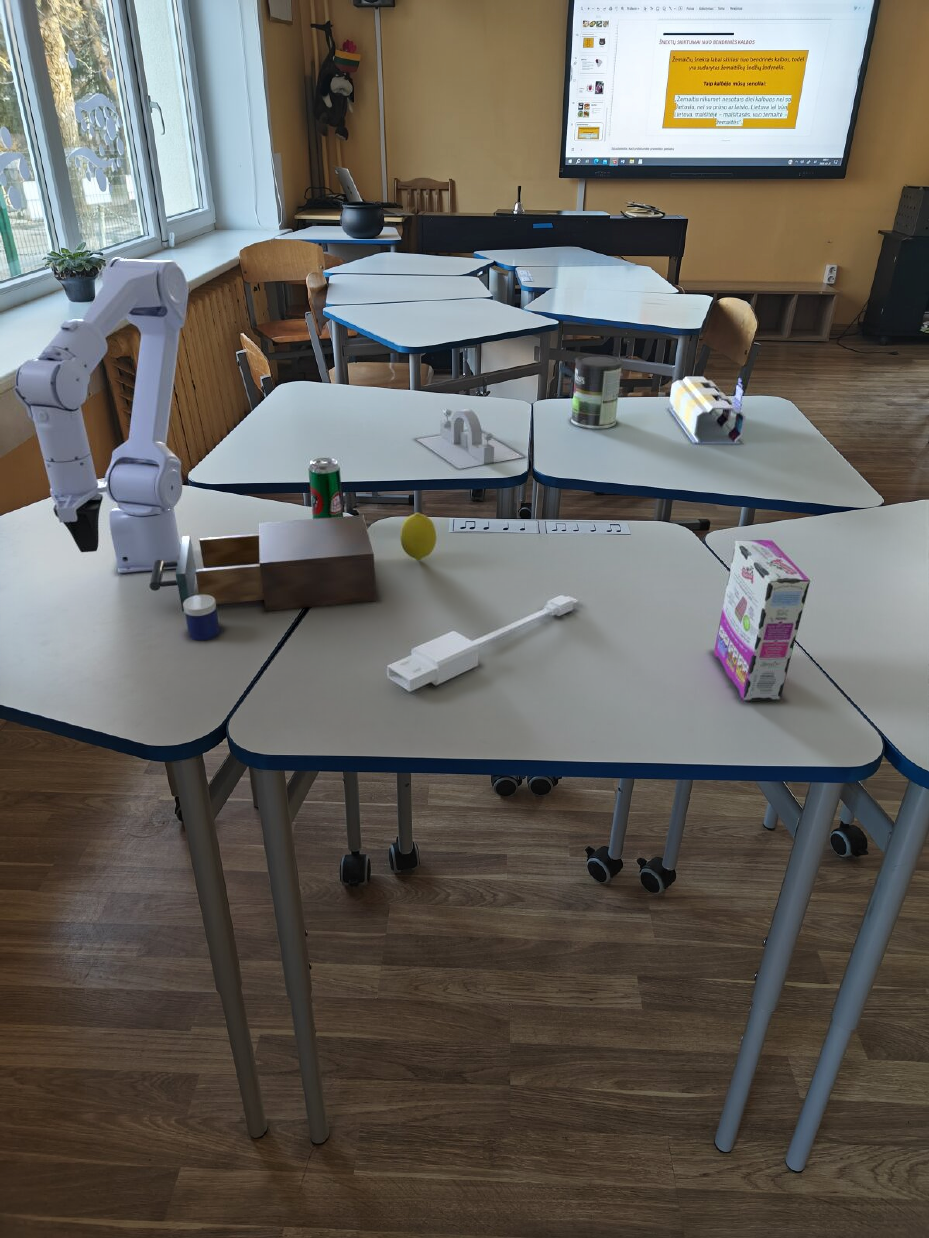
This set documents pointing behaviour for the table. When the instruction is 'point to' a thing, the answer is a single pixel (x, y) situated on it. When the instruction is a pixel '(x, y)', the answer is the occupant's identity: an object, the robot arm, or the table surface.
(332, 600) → the cabinet
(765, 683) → the candy bar box
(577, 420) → the coffee can
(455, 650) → the charging cable
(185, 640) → the table surface
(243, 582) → the drawer
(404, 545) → the lemon
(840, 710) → the table surface
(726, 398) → the diorama
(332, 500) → the soda can
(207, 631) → the blue jar
